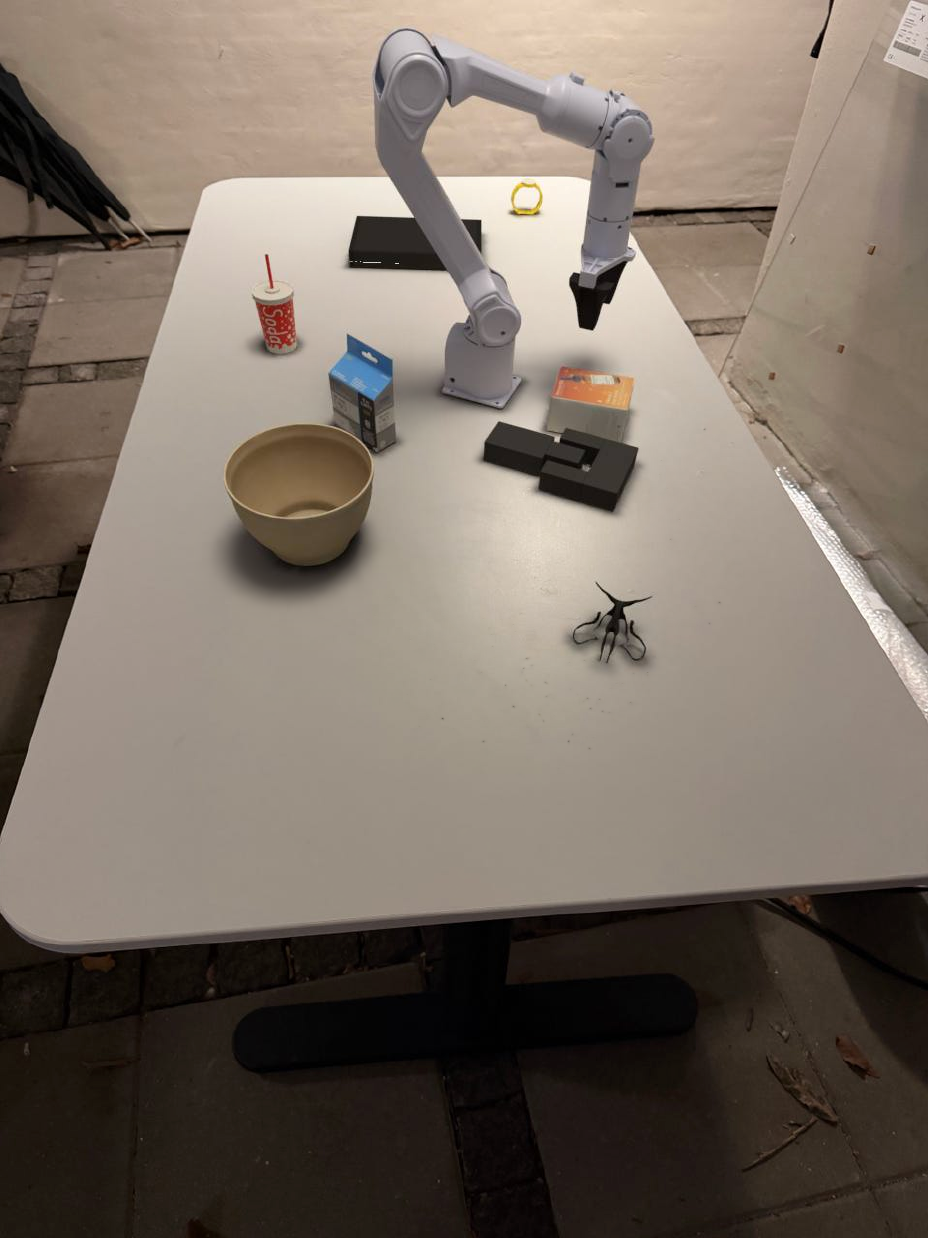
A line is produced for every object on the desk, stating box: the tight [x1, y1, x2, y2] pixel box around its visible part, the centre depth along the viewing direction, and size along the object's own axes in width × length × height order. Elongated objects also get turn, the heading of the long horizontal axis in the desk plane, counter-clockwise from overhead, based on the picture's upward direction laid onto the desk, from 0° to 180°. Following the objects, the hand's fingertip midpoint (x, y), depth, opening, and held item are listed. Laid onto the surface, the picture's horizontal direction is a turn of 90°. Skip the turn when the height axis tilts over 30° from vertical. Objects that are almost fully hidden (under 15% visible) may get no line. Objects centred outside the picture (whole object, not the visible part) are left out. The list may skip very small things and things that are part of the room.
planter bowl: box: [222, 422, 375, 567], centre depth 88 cm, size 16×16×11 cm
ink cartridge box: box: [327, 333, 397, 453], centre depth 101 cm, size 9×4×12 cm, turn 47°
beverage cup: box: [250, 253, 298, 355], centre depth 114 cm, size 6×6×14 cm
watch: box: [510, 177, 544, 216], centre depth 150 cm, size 6×3×6 cm, turn 96°
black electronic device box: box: [348, 215, 483, 271], centre depth 140 cm, size 14×23×3 cm, turn 89°
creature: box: [572, 581, 653, 664], centre depth 82 cm, size 8×5×8 cm
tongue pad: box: [483, 420, 585, 477], centre depth 102 cm, size 12×5×3 cm, turn 67°
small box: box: [546, 365, 636, 443], centre depth 107 cm, size 8×6×10 cm
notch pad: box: [538, 428, 639, 512], centre depth 100 cm, size 10×10×3 cm
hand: (595, 314), depth 107 cm, fingers open, 7 cm apart
